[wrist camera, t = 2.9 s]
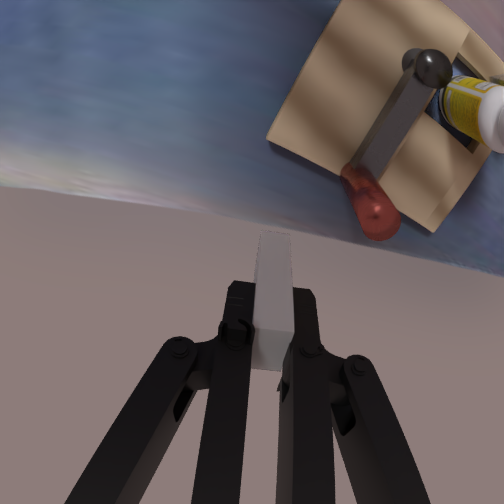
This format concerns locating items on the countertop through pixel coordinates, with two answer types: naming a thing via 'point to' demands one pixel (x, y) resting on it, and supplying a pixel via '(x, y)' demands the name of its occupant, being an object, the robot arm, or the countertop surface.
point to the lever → (391, 143)
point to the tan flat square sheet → (385, 100)
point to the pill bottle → (475, 109)
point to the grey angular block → (497, 79)
